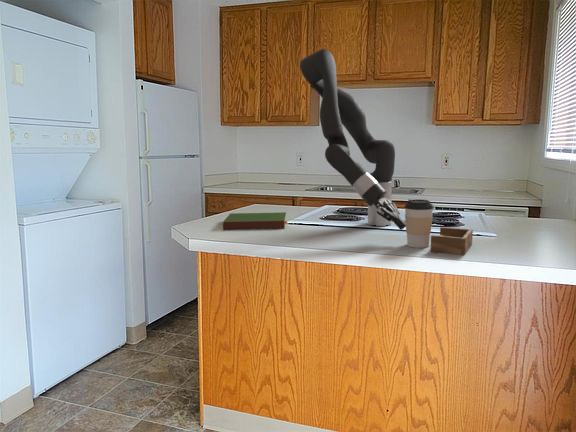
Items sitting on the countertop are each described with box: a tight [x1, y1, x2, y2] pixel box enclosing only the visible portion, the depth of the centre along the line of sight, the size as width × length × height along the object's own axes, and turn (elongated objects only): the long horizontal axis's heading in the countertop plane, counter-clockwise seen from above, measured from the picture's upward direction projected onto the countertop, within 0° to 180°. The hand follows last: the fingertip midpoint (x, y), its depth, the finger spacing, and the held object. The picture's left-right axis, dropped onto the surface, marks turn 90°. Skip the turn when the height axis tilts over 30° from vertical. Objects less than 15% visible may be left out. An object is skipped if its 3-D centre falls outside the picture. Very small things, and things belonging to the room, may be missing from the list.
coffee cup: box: [404, 198, 434, 249], centre depth 152 cm, size 9×9×15 cm
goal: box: [430, 226, 474, 256], centre depth 148 cm, size 14×10×5 cm
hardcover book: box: [222, 211, 288, 231], centre depth 194 cm, size 25×19×4 cm
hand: (403, 227), depth 155 cm, fingers closed
